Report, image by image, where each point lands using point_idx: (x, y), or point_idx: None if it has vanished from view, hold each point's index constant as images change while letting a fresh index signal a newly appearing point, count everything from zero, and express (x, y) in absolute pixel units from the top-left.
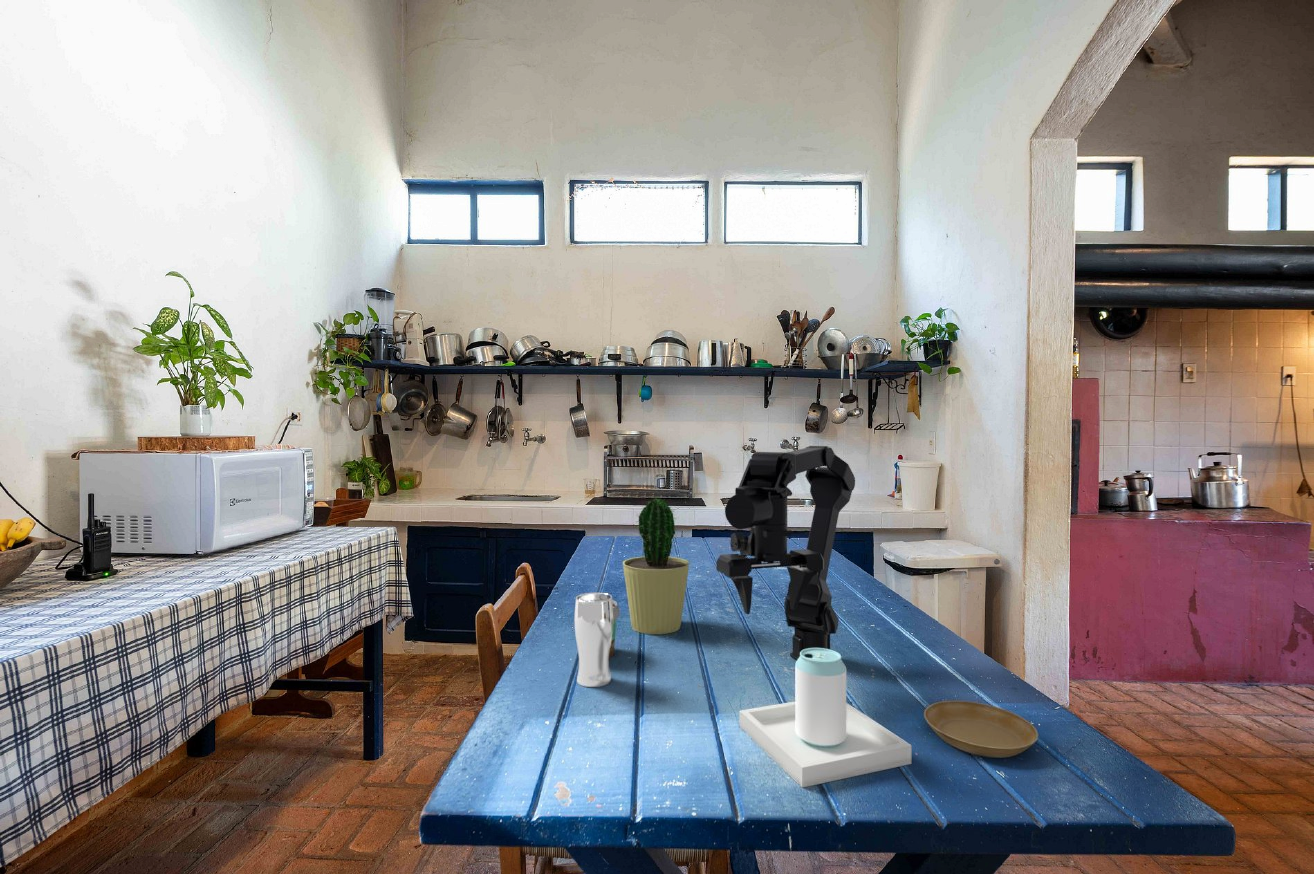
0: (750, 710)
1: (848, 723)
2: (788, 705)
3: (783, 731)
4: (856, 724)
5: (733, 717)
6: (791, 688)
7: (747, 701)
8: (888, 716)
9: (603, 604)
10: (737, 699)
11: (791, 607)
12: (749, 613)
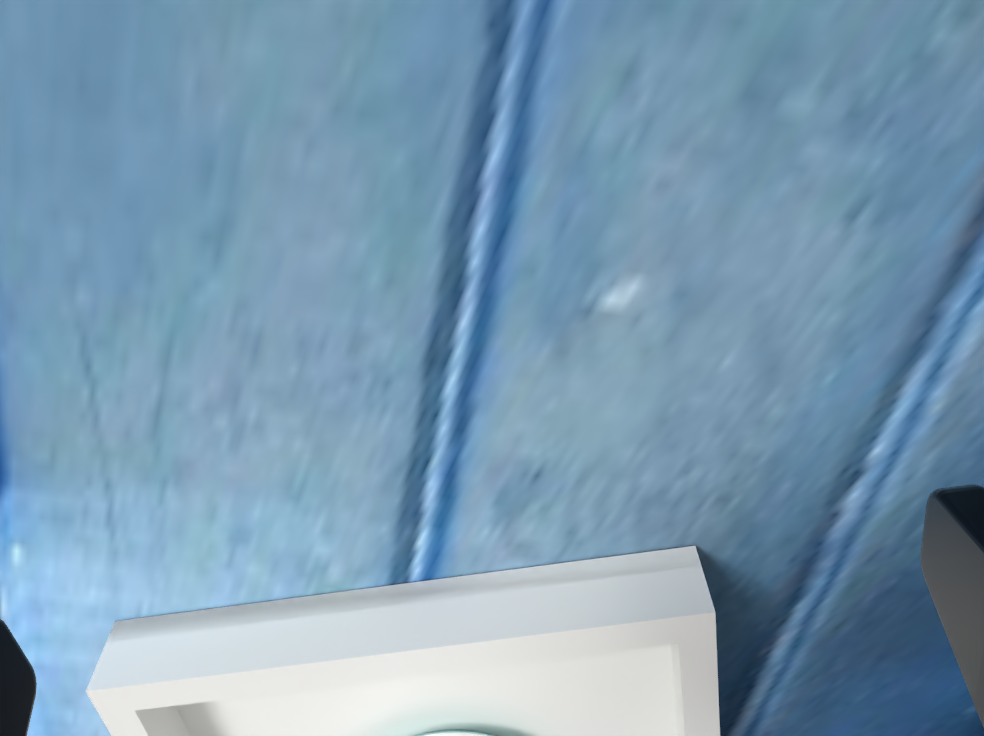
0: (149, 695)
1: (650, 711)
2: (381, 675)
3: (308, 731)
4: (676, 730)
5: (94, 535)
6: (599, 235)
7: (214, 375)
8: (924, 623)
9: None
10: (149, 339)
11: (930, 529)
12: (35, 689)
